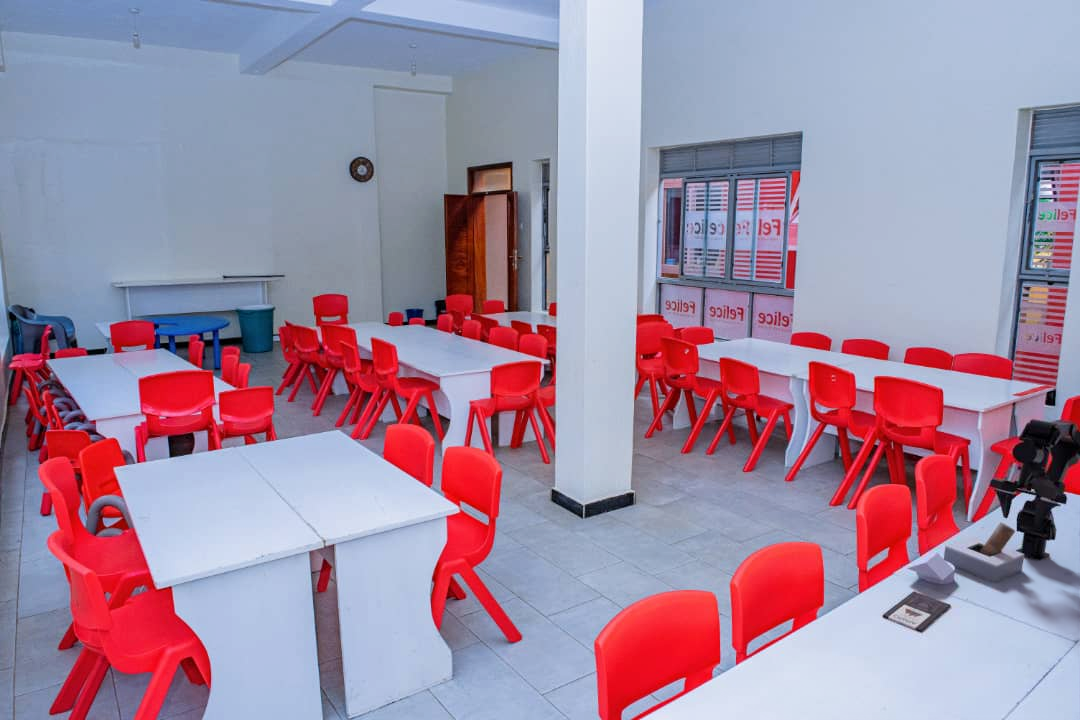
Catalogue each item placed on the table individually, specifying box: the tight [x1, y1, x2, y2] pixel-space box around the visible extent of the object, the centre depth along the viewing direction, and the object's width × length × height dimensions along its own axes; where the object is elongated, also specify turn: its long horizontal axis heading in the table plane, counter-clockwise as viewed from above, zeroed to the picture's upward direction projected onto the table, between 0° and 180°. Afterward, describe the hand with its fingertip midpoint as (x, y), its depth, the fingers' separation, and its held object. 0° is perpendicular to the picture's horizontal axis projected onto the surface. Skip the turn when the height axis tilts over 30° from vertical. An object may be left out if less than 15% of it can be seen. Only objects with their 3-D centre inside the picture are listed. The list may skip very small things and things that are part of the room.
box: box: [943, 535, 1025, 584], centre depth 213 cm, size 14×14×5 cm
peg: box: [979, 522, 1015, 557], centre depth 211 cm, size 4×4×12 cm
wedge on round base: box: [906, 552, 956, 585], centre depth 205 cm, size 9×7×13 cm
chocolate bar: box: [882, 591, 952, 633], centre depth 188 cm, size 9×1×18 cm
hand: (1021, 521), depth 210 cm, fingers open, 9 cm apart
